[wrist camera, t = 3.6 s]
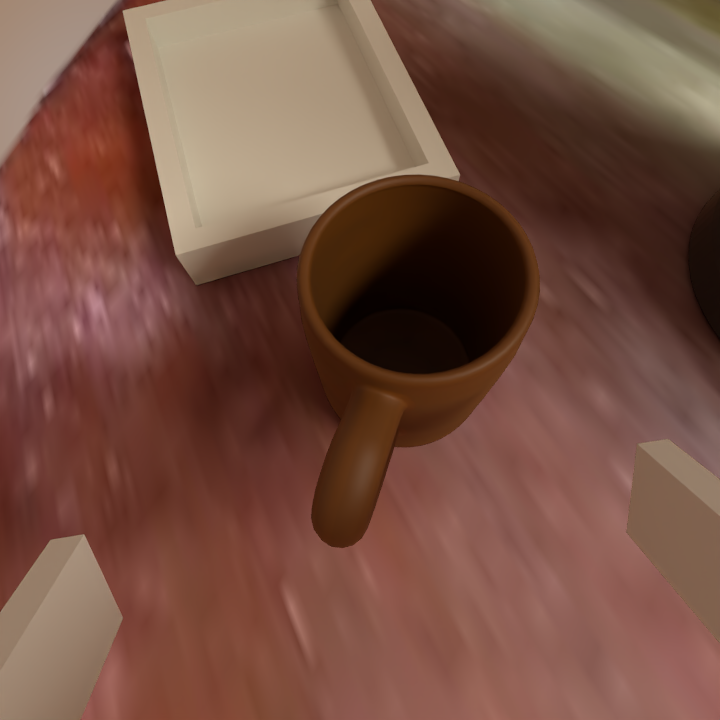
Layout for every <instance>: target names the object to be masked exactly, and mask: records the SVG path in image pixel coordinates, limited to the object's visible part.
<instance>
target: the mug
mask: <svg viewBox="0 0 720 720" xmlns="http://www.w3.org/2000/svg"><path fill="white" fill-rule="evenodd" d="M297 290H298V299H299V303H300V312H301V320H302V324H303V328H304V332H305V336H306V339H307V342H308V345H309V348H310V351H311V354H312V357H313V360H314V364H315V367H316V369H317V372H318V374H319V377H320V380H321V383H322V386H323V389H324V391H325V394H326V396H327V399H328V401H329V402H330V404H331V406H332V408H333V409H334V411H335V412H336V414H337V415H338V416H339V418H340V419H341V421H340V423H339V425H338V428H337V430H336V432H335V435H334V437H333V439H332V441H331V444H330V447H329V449H328V452H327V455H326V458H325V460H324V463H323V466H322V469H321V472H320V476H319V479H318V483H317V486H316V489H315V494H314V499H313V505H312V514H311V519H312V523H313V528H314V530H315V531H316V533H317V534H318V536H319V537H320V538H321V540H322V541H324V542H325V543H327V544H328V545H330V546H331V547H339V548H344V547H348V546H352V545H354V544H355V543H356V542H358V541H359V540H360V539H361V538H362V537H363V535H364V533H365V531H366V530H367V528H368V525H369V523H370V520H371V517H372V514H373V511H374V508H375V505H376V502H377V499H378V496H379V493H380V490H381V487H382V484H383V481H384V478H385V475H386V471H387V468H388V465H389V462H390V459H391V456H392V453H393V450H394V447H414V446H421V445H425V444H428V443H432V442H434V441H436V440H439V439H441V438H443V437H445V436H446V435H448V434H450V433H451V432H452V431H454V430H455V429H456V428H457V427H459V426H460V425H461V424H462V423H463V422H464V421H465V420H466V419H467V418H468V417H469V415H470V414H471V413H472V412H473V410H474V409H475V408H476V406H477V405H478V404H479V403H480V402H481V401H482V399H483V398H484V397H485V396H486V394H487V393H488V392H489V390H490V389H491V388H492V386H493V385H494V384H495V382H496V381H497V380H498V378H499V377H500V376H501V375H502V373H503V372H504V370H505V369H506V368H507V366H508V365H509V363H510V362H511V360H512V359H513V357H514V356H515V354H516V352H517V350H518V348H519V346H520V344H521V342H522V340H523V338H524V336H525V334H526V332H527V330H528V328H529V326H530V324H531V322H532V320H533V318H534V315H535V312H536V308H537V305H538V299H539V292H540V277H539V270H538V264H537V260H536V257H535V254H534V250H533V247H532V245H531V243H530V241H529V239H528V237H527V235H526V233H525V232H524V230H523V229H522V227H521V226H520V224H519V223H518V222H517V220H516V219H515V218H514V217H513V216H512V215H511V213H510V212H509V211H507V210H506V209H505V208H504V207H503V206H502V205H501V204H500V203H498V202H497V201H496V200H494V199H493V198H491V197H490V196H489V195H487V194H485V193H483V192H482V191H480V190H478V189H476V188H474V187H472V186H469V185H467V184H465V183H462V182H459V181H456V180H452V179H449V178H444V177H439V176H432V175H420V174H418V175H399V176H391V177H387V178H383V179H378V180H375V181H372V182H370V183H367V184H364V185H362V186H360V187H358V188H356V189H354V190H352V191H350V192H348V193H347V194H345V195H344V196H342V197H340V198H339V199H338V200H337V201H335V202H334V203H333V204H332V205H331V206H329V207H328V209H327V210H326V211H325V212H324V213H323V214H322V215H321V216H320V217H319V219H318V220H317V221H316V223H315V224H314V225H313V227H312V228H311V230H310V232H309V234H308V236H307V238H306V239H305V241H304V244H303V247H302V250H301V253H300V257H299V261H298V266H297Z"/></svg>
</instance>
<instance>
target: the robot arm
mask: <svg viewBox="0 0 720 720" xmlns="http://www.w3.org/2000/svg"><path fill="white" fill-rule="evenodd" d="M689 270H690V275H691V280H692V284H693V288H694V291H695V294H696V297H697V299H698V302H699V304H700V306H701V308H702V310H703V312H704V314H705V316H706V318H707V320H708V321H709V323H710V325H711V326H712V328H713V329H714V331H715V332H716V334H717V335H718V336H719V338H720V190H719V191H718V192H717V193H716V194H715V195H714V196H713V197H712V198H711V199H710V200H709V201H708V203H707V204H706V205H705V206H704V208H703V209H702V211H701V212H700V214H699V216H698V218H697V220H696V222H695V224H694V227H693V230H692V233H691V238H690V243H689ZM626 533H627V534H628V535H629V536H630V537H631V539H632V540H633V541H634V542H635V543H636V544H637V546H638V547H639V548H640V549H641V550H642V552H643V553H644V554H645V555H646V556H647V558H648V559H649V560H650V561H651V562H652V563H653V565H654V566H655V567H656V568H657V569H658V571H659V572H660V573H661V574H662V575H663V577H664V578H665V579H666V580H667V581H668V582H669V584H670V585H671V586H672V587H673V588H674V590H675V591H676V592H677V593H678V594H679V596H680V597H681V598H682V599H683V600H684V601H685V603H686V604H687V605H688V606H689V607H690V609H691V610H692V611H693V612H694V613H695V615H696V616H697V617H698V618H699V619H700V620H701V622H702V623H703V624H704V625H705V626H706V628H707V629H708V630H709V631H710V632H711V633H712V635H713V636H714V637H715V638H716V639H717V641H718V642H719V643H720V479H719V478H717V477H716V476H715V475H714V474H712V473H711V472H710V471H708V470H707V469H706V468H705V467H703V466H702V465H701V464H700V463H698V462H697V461H696V460H694V459H693V458H692V457H691V456H689V455H688V454H687V453H686V452H684V451H683V450H682V449H680V448H679V447H678V446H677V445H675V444H674V443H673V442H671V441H670V440H669V439H664V440H658V441H652V442H645V443H639V444H637V448H636V457H635V465H634V473H633V482H632V490H631V498H630V506H629V515H628V523H627V531H626ZM122 619H123V617H122V615H121V612H120V610H119V608H118V606H117V604H116V602H115V599H114V597H113V595H112V593H111V591H110V589H109V587H108V584H107V582H106V580H105V578H104V576H103V574H102V571H101V569H100V567H99V565H98V563H97V561H96V559H95V556H94V554H93V552H92V550H91V548H90V546H89V543H88V541H87V539H86V537H85V535H84V534H83V535H77V536H71V537H65V538H58V539H52V540H50V541H49V543H48V544H47V546H46V547H45V549H44V550H43V551H42V553H41V554H40V556H39V557H38V559H37V560H36V562H35V563H34V564H33V566H32V567H31V569H30V570H29V572H28V573H27V574H26V576H25V577H24V579H23V580H22V582H21V583H20V585H19V586H18V587H17V589H16V590H15V592H14V593H13V595H12V596H11V598H10V599H9V600H8V602H7V603H6V605H5V606H4V608H3V609H2V610H1V612H0V720H81V717H82V715H83V713H84V710H85V708H86V705H87V703H88V701H89V698H90V696H91V693H92V691H93V689H94V686H95V684H96V681H97V679H98V677H99V674H100V672H101V669H102V667H103V665H104V662H105V660H106V657H107V655H108V653H109V650H110V648H111V645H112V643H113V641H114V638H115V636H116V634H117V631H118V629H119V626H120V624H121V622H122Z"/></svg>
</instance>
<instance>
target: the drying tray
mask: <svg viewBox="0 0 720 720" xmlns="http://www.w3.org/2000/svg"><path fill="white" fill-rule="evenodd" d="M123 15H124V19H125V24H126V29H127V33H128V38H129V43H130V47H131V52H132V56H133V61H134V66H135V70H136V75H137V79H138V84H139V89H140V93H141V98H142V103H143V107H144V112H145V116H146V121H147V126H148V130H149V135H150V139H151V144H152V149H153V153H154V158H155V162H156V167H157V172H158V176H159V181H160V186H161V190H162V195H163V199H164V204H165V209H166V213H167V218H168V222H169V227H170V232H171V236H172V241H173V245H174V250H175V255H176V257H177V258H178V259H179V261H180V262H181V264H182V265H183V267H184V268H185V270H186V271H187V273H188V274H189V275H190V277H191V278H192V280H193V281H194V283H195V284H196V285H199V284H202V283H206V282H209V281H213V280H216V279H220V278H223V277H227V276H230V275H233V274H237V273H240V272H244V271H247V270H251V269H254V268H258V267H261V266H264V265H268V264H271V263H275V262H278V261H282V260H285V259H289V258H292V257H295V256H299V255H300V253H301V250H302V247H303V244H304V241H305V239H306V238H307V236H308V234H309V232H310V230H311V228H312V227H313V225H314V224H315V223H316V221H317V220H318V219H319V217H320V216H321V215H322V214H323V213H324V212H325V211H326V210H327V209H328V207H329V206H331V205H332V204H333V203H334V202H335V201H337V200H338V199H339V198H340V197H342V196H344V195H345V194H347V193H348V192H350V191H352V190H354V189H356V188H358V187H360V186H362V185H364V184H367V183H370V182H372V181H375V180H378V179H383V178H387V177H391V176H399V175H418V174H420V175H432V176H439V177H444V178H449V179H452V180H456V181H459V177H460V173H459V171H458V170H457V168H456V166H455V164H454V162H453V160H452V158H451V156H450V154H449V152H448V150H447V148H446V146H445V144H444V142H443V140H442V138H441V136H440V135H439V133H438V131H437V129H436V127H435V125H434V123H433V121H432V119H431V117H430V115H429V113H428V111H427V109H426V107H425V105H424V103H423V101H422V100H421V98H420V96H419V94H418V92H417V90H416V88H415V86H414V84H413V82H412V80H411V78H410V76H409V74H408V72H407V70H406V68H405V66H404V65H403V63H402V61H401V59H400V57H399V55H398V53H397V51H396V49H395V47H394V45H393V43H392V41H391V39H390V37H389V35H388V33H387V31H386V29H385V28H384V26H383V24H382V22H381V20H380V18H379V16H378V14H377V12H376V10H375V8H374V6H373V4H372V2H371V0H166V1H162V2H157V3H153V4H149V5H145V6H140V7H136V8H132V9H128V10H123Z"/></svg>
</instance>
